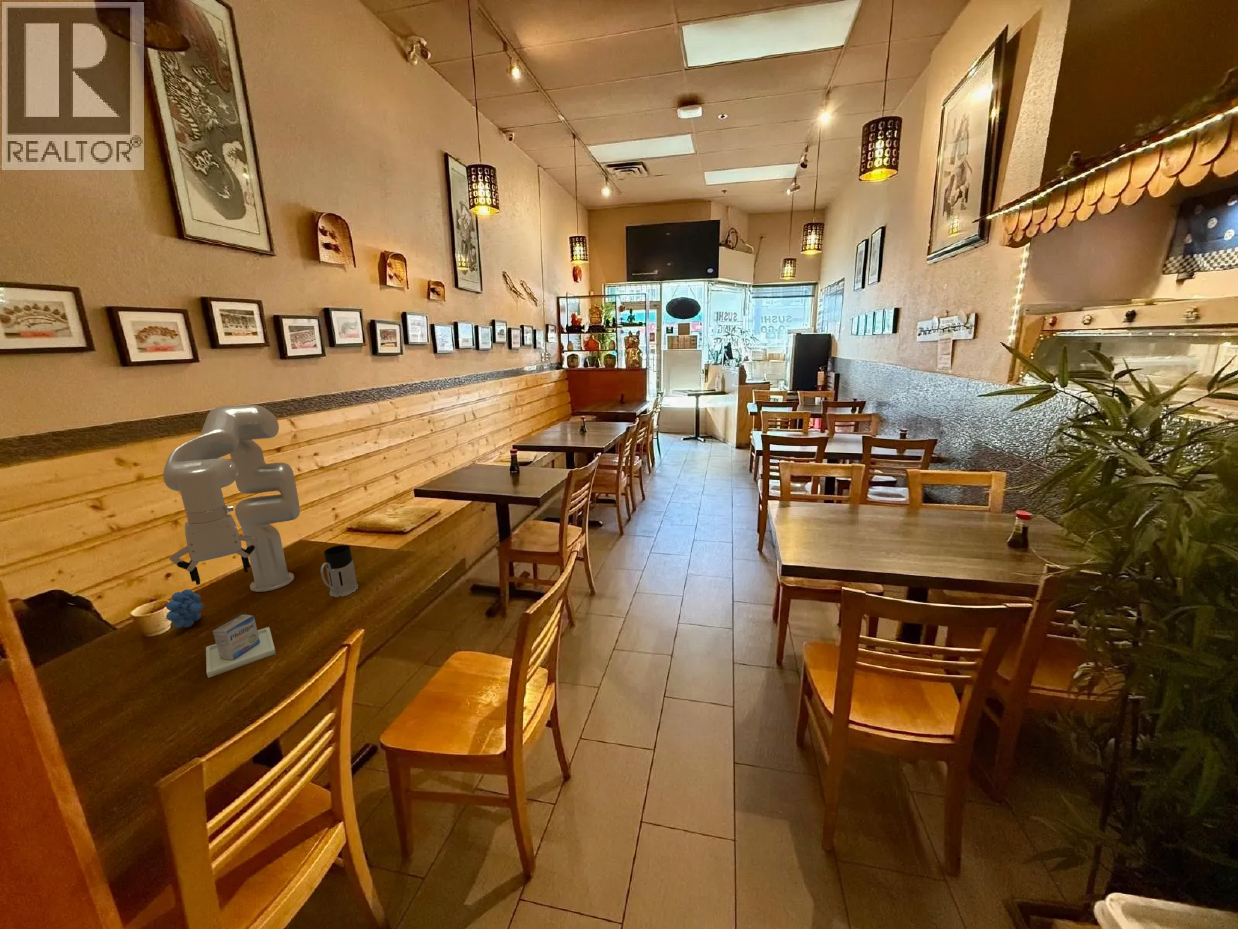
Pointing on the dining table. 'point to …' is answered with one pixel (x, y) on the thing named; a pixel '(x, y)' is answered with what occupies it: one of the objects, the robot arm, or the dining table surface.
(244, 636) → the medicine box
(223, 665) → the tray
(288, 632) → the dining table surface
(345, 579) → the glass holder
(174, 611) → the grapes
